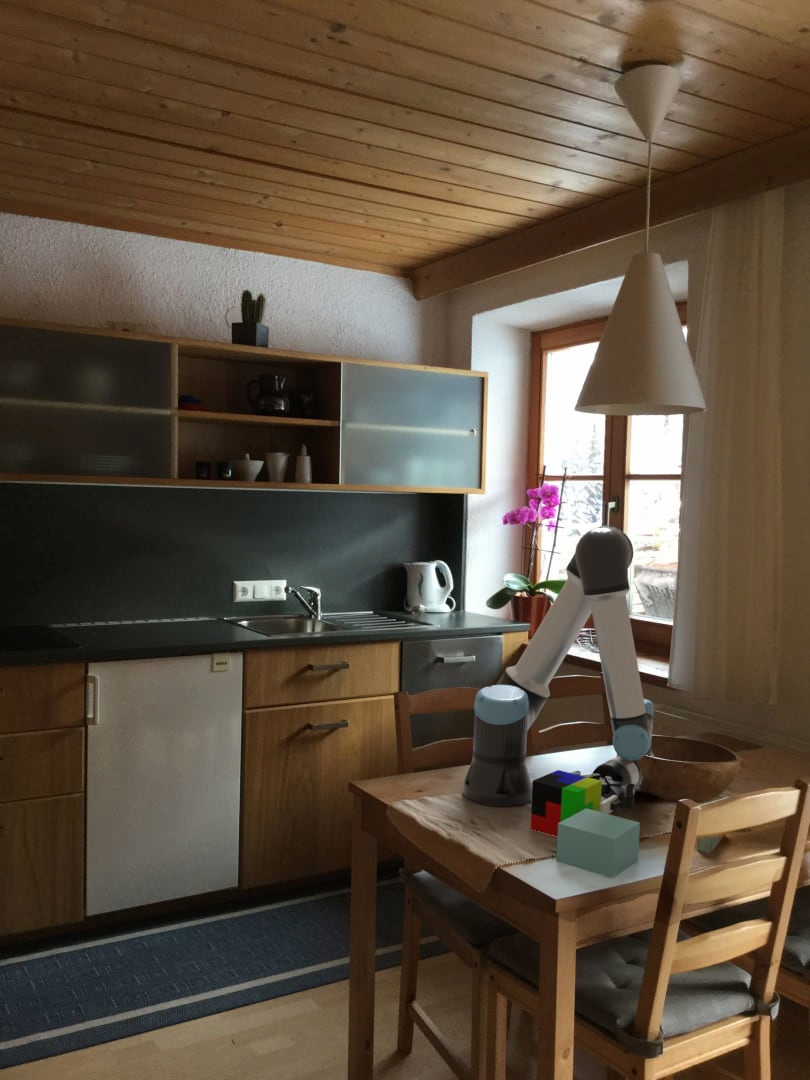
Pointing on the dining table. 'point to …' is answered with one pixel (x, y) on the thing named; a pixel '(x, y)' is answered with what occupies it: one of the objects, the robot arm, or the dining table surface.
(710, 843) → the medication box
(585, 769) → the dining table surface
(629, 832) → the base brick
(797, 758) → the dining table surface
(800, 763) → the dining table surface
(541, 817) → the puzzle toy
